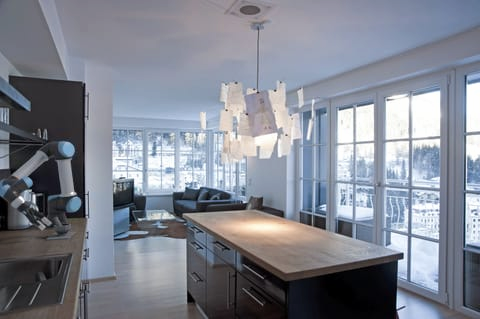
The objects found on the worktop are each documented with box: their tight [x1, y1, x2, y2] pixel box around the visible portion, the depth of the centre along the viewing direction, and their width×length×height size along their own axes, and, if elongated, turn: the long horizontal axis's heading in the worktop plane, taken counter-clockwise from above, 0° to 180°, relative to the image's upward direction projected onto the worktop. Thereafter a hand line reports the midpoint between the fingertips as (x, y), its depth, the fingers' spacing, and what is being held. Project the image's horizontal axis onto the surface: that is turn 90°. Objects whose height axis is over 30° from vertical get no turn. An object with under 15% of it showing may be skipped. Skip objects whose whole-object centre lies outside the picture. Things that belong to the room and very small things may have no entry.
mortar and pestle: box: [53, 217, 72, 236], centre depth 219 cm, size 11×9×12 cm
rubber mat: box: [45, 231, 76, 241], centre depth 219 cm, size 20×13×1 cm, turn 15°
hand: (47, 226), depth 217 cm, fingers open, 13 cm apart
